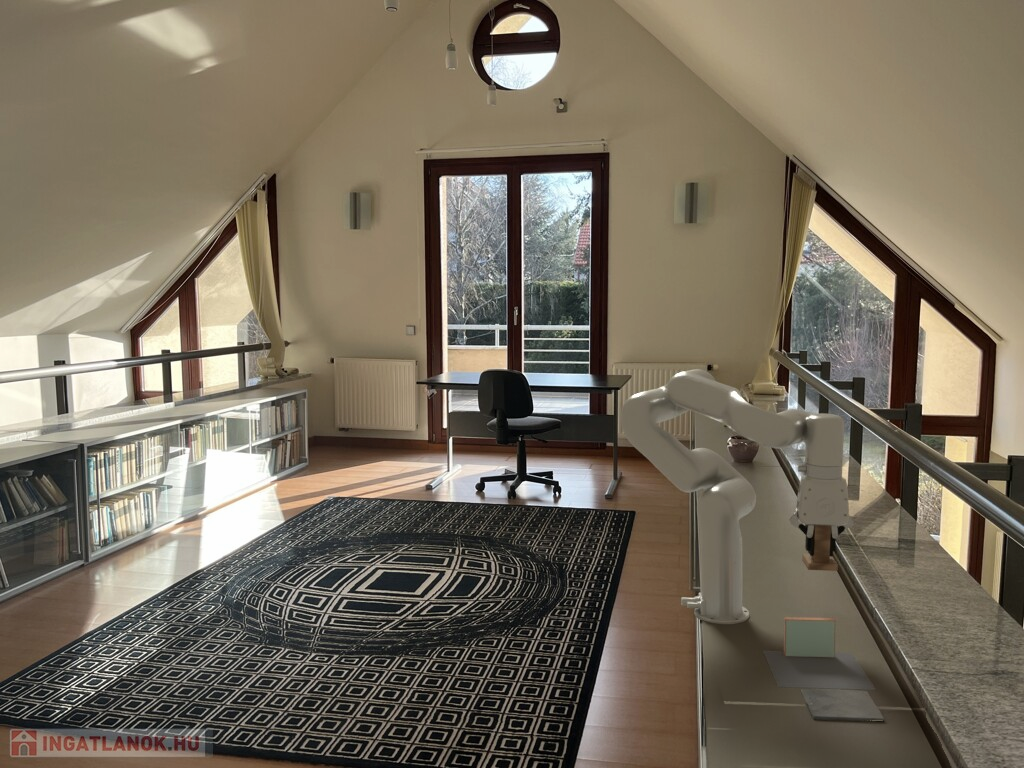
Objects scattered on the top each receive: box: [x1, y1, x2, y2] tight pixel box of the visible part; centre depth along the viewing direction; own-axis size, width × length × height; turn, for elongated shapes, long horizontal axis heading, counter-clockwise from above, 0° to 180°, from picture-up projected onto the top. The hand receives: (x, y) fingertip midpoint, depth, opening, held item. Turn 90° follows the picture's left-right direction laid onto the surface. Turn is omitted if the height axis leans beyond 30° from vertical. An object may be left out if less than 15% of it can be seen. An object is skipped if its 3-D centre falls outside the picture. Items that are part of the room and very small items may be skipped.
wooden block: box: [801, 525, 839, 572], centre depth 174 cm, size 6×6×10 cm
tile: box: [783, 616, 836, 658], centre depth 167 cm, size 10×1×8 cm, turn 83°
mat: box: [762, 650, 877, 691], centre depth 161 cm, size 18×16×1 cm
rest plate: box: [800, 688, 885, 722], centre depth 147 cm, size 12×10×1 cm
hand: (820, 553), depth 175 cm, fingers closed on wooden block, 3 cm apart
